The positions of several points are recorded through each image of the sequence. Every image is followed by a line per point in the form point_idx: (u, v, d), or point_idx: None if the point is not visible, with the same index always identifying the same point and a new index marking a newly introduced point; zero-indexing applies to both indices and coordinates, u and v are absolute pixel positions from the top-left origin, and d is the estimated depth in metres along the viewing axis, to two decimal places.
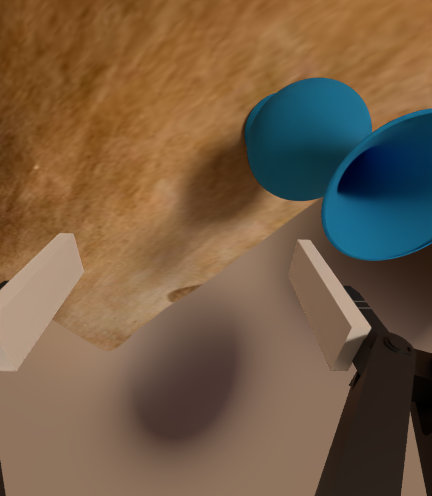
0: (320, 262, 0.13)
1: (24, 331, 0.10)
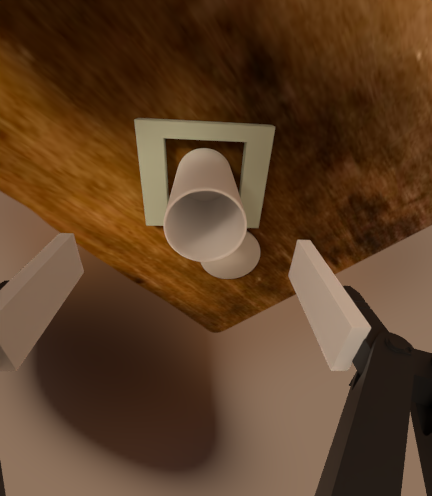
0: (320, 262, 0.13)
1: (24, 331, 0.10)
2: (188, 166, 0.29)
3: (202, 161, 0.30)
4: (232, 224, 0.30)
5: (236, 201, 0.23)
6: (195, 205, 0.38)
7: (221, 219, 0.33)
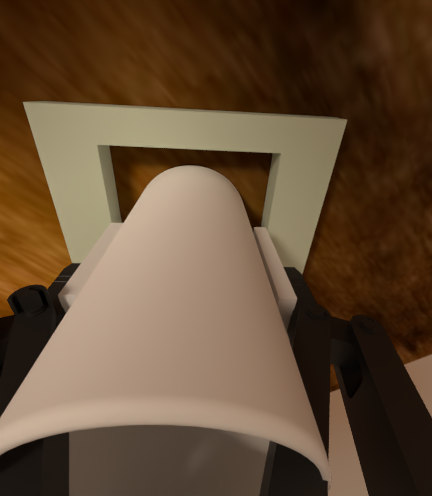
0: (269, 246, 0.14)
1: None
2: (139, 217, 0.11)
3: (176, 203, 0.11)
4: None
5: (299, 443, 0.05)
6: None
7: None
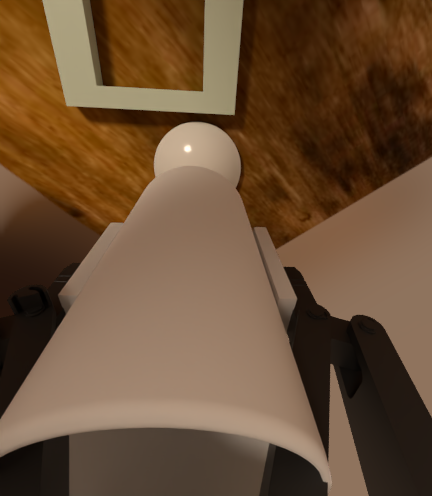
0: (269, 246, 0.14)
1: None
2: (139, 218, 0.11)
3: (176, 204, 0.11)
4: None
5: (299, 445, 0.05)
6: None
7: None
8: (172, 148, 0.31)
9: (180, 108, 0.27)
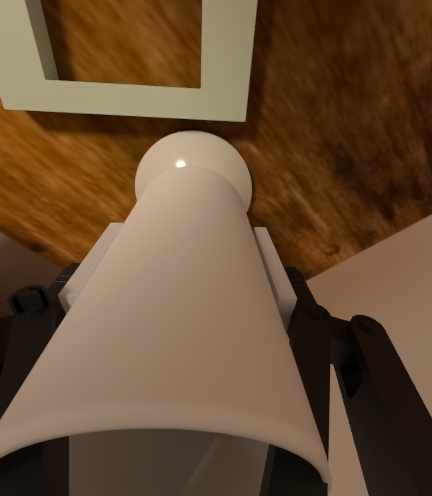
0: (269, 246, 0.14)
1: None
2: (139, 218, 0.11)
3: (176, 204, 0.11)
4: None
5: (300, 446, 0.05)
6: None
7: None
8: (158, 167, 0.22)
9: (168, 112, 0.19)
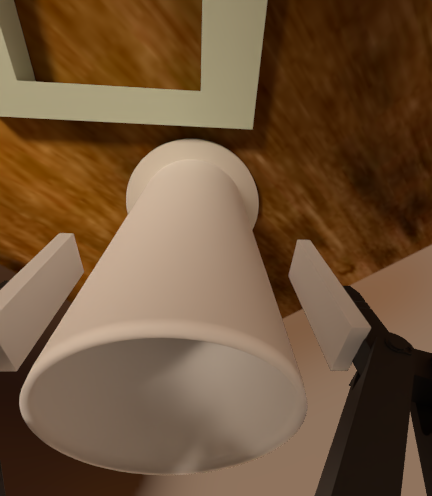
0: (320, 262, 0.13)
1: (24, 331, 0.10)
2: (146, 202, 0.13)
3: (179, 191, 0.13)
4: None
5: (278, 361, 0.06)
6: None
7: None
8: None
9: (163, 119, 0.16)
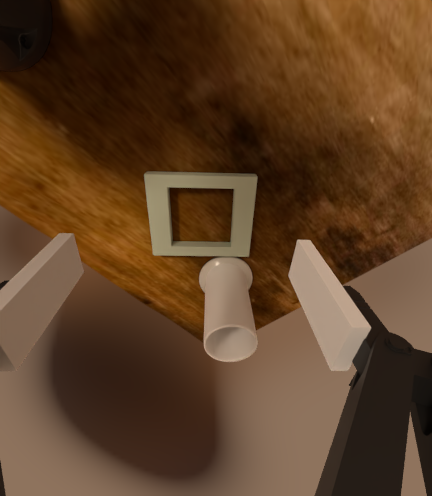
0: (320, 262, 0.13)
1: (24, 331, 0.10)
2: (217, 290, 0.43)
3: (226, 286, 0.43)
4: (247, 330, 0.43)
5: (250, 331, 0.36)
6: None
7: None
8: None
9: (217, 254, 0.47)
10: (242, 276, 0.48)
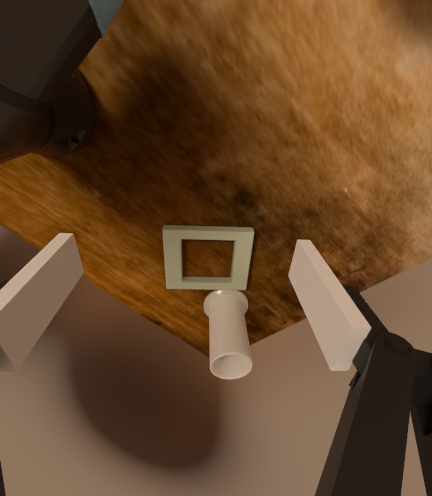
0: (320, 262, 0.13)
1: (24, 331, 0.10)
2: (219, 320, 0.53)
3: (227, 316, 0.53)
4: None
5: (247, 357, 0.47)
6: None
7: None
8: None
9: (220, 288, 0.57)
10: (240, 305, 0.58)
